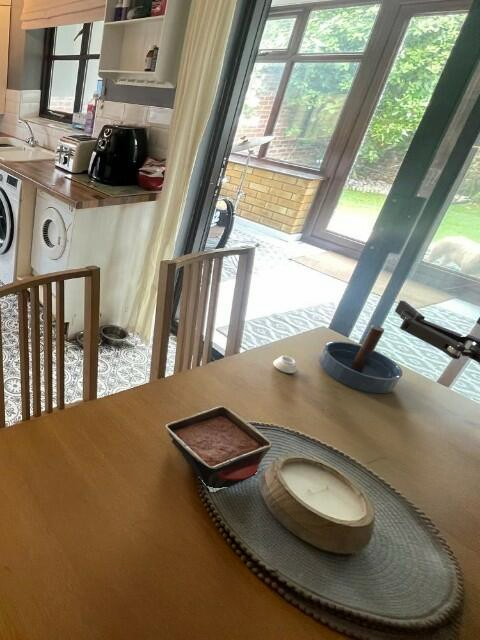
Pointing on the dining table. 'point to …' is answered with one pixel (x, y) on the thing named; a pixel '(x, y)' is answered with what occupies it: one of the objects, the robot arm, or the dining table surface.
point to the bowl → (375, 376)
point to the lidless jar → (285, 364)
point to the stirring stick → (367, 348)
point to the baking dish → (219, 446)
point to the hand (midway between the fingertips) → (439, 311)
